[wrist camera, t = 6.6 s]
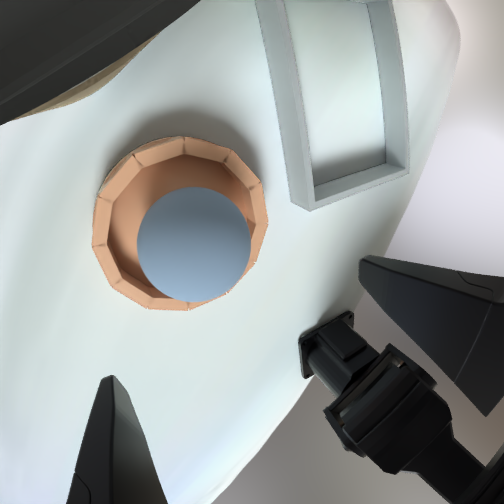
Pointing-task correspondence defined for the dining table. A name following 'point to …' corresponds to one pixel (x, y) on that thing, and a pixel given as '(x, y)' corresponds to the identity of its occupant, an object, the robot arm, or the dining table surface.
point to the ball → (193, 244)
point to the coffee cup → (71, 47)
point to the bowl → (153, 188)
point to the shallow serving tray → (293, 111)
